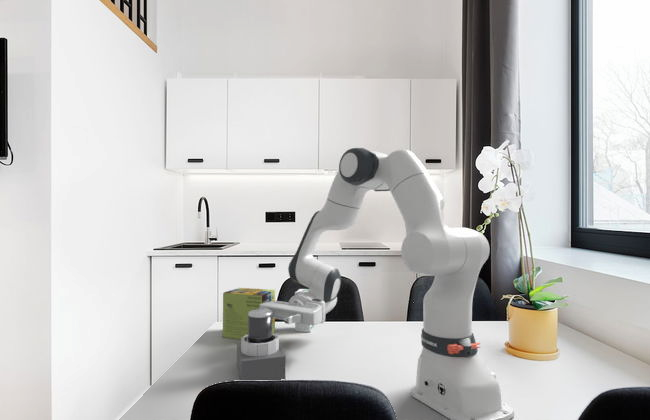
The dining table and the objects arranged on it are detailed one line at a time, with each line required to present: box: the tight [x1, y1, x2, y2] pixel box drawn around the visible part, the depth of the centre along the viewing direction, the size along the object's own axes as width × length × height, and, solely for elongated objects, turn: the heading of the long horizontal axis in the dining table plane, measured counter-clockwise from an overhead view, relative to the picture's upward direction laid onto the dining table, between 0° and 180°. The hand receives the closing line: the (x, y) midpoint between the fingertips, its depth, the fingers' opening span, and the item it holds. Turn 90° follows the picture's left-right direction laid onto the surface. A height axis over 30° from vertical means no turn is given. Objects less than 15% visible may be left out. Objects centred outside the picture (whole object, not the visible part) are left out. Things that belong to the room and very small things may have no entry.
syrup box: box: [294, 288, 315, 333], centre depth 139 cm, size 6×6×14 cm
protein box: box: [222, 287, 276, 340], centre depth 133 cm, size 10×15×16 cm
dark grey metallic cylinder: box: [248, 309, 272, 343], centre depth 102 cm, size 6×6×10 cm
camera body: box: [236, 333, 287, 380], centre depth 102 cm, size 14×11×9 cm
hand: (273, 318), depth 106 cm, fingers open, 8 cm apart
